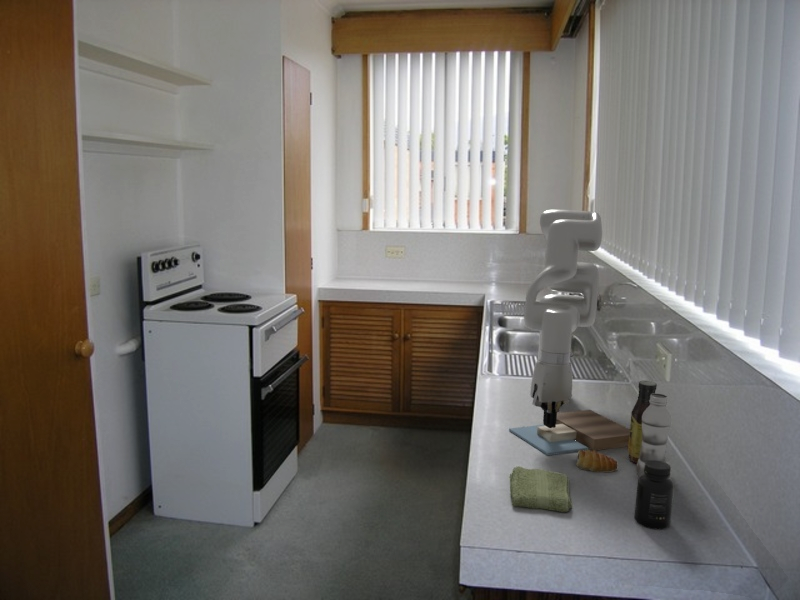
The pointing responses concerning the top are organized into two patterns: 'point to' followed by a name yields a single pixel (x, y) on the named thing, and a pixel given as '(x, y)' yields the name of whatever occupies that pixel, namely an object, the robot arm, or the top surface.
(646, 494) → the supplement bottle
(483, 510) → the top surface
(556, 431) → the birch tile
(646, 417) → the plastic bottle
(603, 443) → the walnut stand
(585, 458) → the pastry
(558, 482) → the washcloth
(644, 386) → the sauce bottle
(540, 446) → the rubber mat
